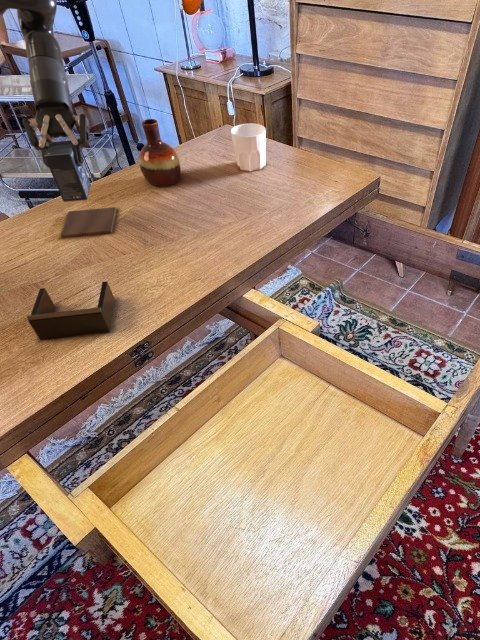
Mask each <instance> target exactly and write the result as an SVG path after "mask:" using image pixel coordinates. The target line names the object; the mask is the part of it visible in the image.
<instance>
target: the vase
mask: <svg viewBox="0 0 480 640" xmlns="http://www.w3.org/2000/svg"><path fill="white" fill-rule="evenodd" d="M141 126H142V129H143V132H144V135H145V139H146V144H145V145H144V146H143V147H142V148H141V150H140V152H139V157H138V163H139V165H138V166H139V168H140V171H141V173H142V175H143V177H144V179H145V180H146V182H147V183H148V184H150V185H152V187H153V186H154V187H156V188H163V187H164V188H167V187H169V186H172V185H174V184H176V183H177V182H178V181H179V179H180V177H181V171H182V170H181V162H180V158H179V155H178V154H177V151H176V150H175V149H174V148H173V147H172V146H171V145H170V144H168V143H166V142H165V141H162V138H161V133H160V128H159V123H158V120H157V119H154V118H148V119H144V120H142V121H141Z"/></svg>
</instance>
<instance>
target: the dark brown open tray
mask: <svg viewBox="0 0 480 640" xmlns="http://www.w3.org/2000/svg"><path fill="white" fill-rule="evenodd" d="M115 304H116V298H115V296H114V293H113V291H112V289H111V287H110V284H109V282H108V281H107V280H105V281H102V283H101V288H100V292H99V298H98V302H97V306H96V307H91V308H83V309H73V310H65V311H56V305H55V303H54V301H53V299H52V298H51V296H50V294H49V293H48V292H47V289H46V287H41V288H39V289H38V293H37V296H36V299H35V301H34V305H33V307H32V311H31V313H30V315H29V314H28V315H26V320H27V321H28V324H29V325H30V327H31V328H32V330H33V331H34V333H35V334H36V336H37V337H38V339H39V341H46V340H54V339H63V338H73V337H79V336H80V337H81V336H89V335H98V334H106V333H111V328H112V324H113V323H112V322H113V316H114V311H115ZM55 311H56V312H55Z"/></svg>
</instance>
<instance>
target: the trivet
mask: <svg viewBox="0 0 480 640" xmlns="http://www.w3.org/2000/svg"><path fill="white" fill-rule="evenodd" d="M116 214H117V207H115V206H114V207H113V206H112V207H104V208H103V207H102V208H92V209H83V210H82V209H81V210H80V209H79V210H70V211H68V213H67V216H66V218H65V222H64V225H63V228H62V231H61V234H60V236H61V239H67V238H69V239H70V238H77V237H88V236H89V237H90V236H98V235H99V236H101V235H108V234H112V233H113V229H114V225H115V220H116Z"/></svg>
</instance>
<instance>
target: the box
mask: <svg viewBox="0 0 480 640" xmlns="http://www.w3.org/2000/svg"><path fill="white" fill-rule="evenodd" d="M72 146H73V143H72V142H71V140H61V141H60V140H59V141H53V142H52V143H51V144H49V146H48V149H47V151H46V153H45V156H44V157H45V159H46V161H47V164H48V166H49V168H50V169H49V168H48V169H49V171H50V173H51V176H52V178H53V181H54V182H55V185H56V187H57V190H58V192H59V193H60V197H61V199H62V201H63V203H67V202H68V203H69V202H81V201H87V200H88V198H89V194H90V189H91V186H92V184H91V182H90V179H89V177H88V174H87V171H86V168H85V166H84V163H83V164H82V166H80V167H78V166H77V165H76V163H75V159H74V154H73V148H72Z"/></svg>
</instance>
